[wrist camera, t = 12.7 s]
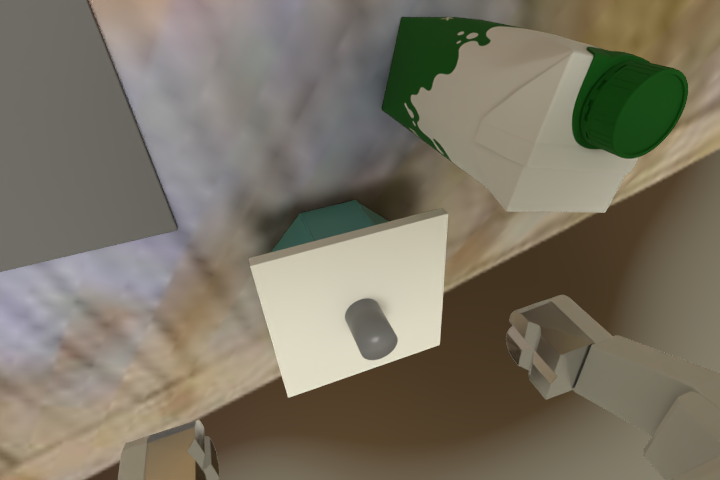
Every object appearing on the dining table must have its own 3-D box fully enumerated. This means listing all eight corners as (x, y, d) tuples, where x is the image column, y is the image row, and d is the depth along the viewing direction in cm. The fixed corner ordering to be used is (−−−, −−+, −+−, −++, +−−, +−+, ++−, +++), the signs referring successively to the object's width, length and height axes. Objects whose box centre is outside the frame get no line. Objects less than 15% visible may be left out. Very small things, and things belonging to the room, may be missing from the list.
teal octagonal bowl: (392, 190, 40) (425, 226, 35) (395, 290, 48) (422, 332, 42) (257, 222, 37) (270, 268, 31) (283, 324, 44) (297, 375, 39)
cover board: (442, 207, 34) (475, 239, 30) (435, 337, 43) (460, 375, 39) (248, 258, 30) (258, 302, 26) (286, 389, 40) (297, 436, 36)
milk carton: (486, 22, 34) (741, 74, 19) (453, 129, 39) (637, 242, 23) (392, 0, 31) (609, 41, 15) (368, 120, 35) (517, 246, 20)
